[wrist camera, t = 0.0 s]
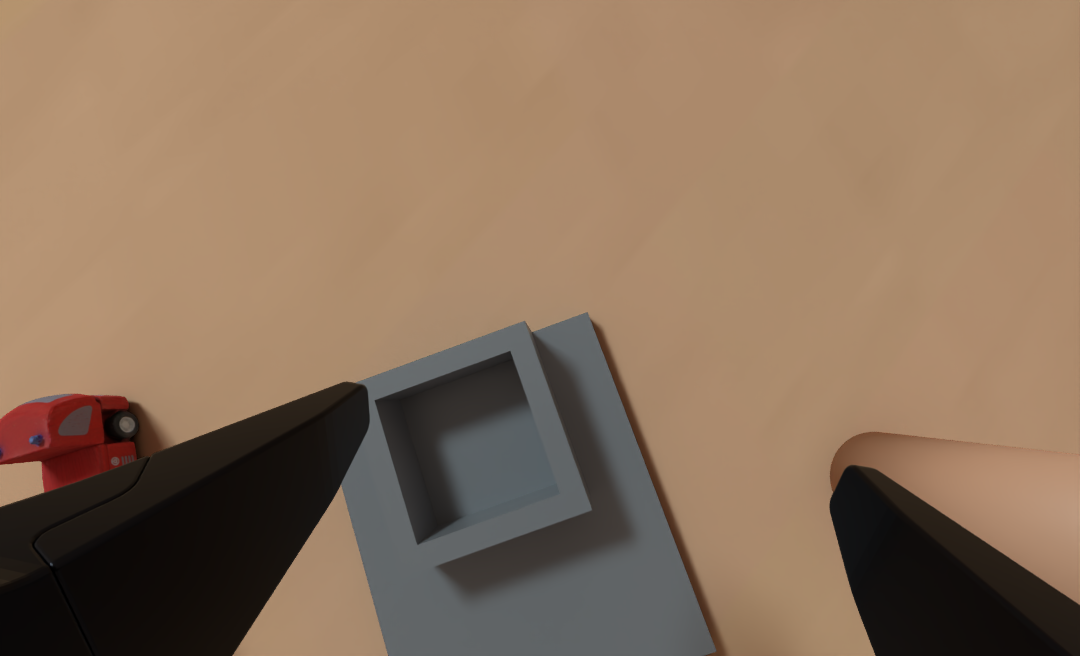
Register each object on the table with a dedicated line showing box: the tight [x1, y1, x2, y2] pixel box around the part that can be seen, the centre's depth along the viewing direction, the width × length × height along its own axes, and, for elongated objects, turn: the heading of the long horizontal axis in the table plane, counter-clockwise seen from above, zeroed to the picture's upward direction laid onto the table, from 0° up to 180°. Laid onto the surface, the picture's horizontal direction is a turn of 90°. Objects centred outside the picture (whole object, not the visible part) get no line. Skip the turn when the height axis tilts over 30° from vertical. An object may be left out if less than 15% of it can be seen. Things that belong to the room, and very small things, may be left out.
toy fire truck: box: [0, 394, 139, 492], centre depth 20 cm, size 3×14×10 cm, turn 16°
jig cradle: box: [341, 312, 716, 656], centre depth 21 cm, size 16×14×4 cm
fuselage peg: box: [830, 432, 1080, 605], centre depth 16 cm, size 4×4×12 cm
